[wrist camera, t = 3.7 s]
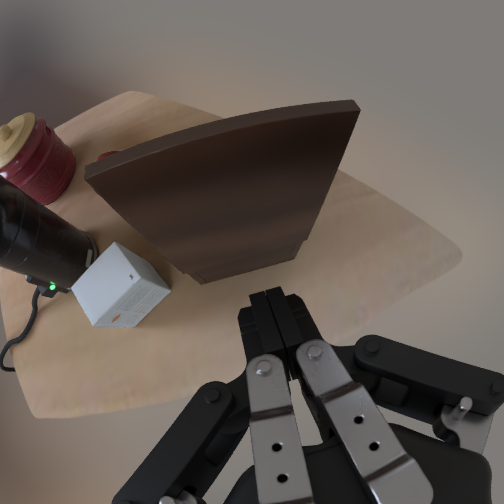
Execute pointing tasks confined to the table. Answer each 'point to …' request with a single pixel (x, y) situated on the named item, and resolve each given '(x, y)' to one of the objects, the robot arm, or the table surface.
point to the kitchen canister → (35, 158)
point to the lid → (229, 182)
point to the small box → (119, 288)
